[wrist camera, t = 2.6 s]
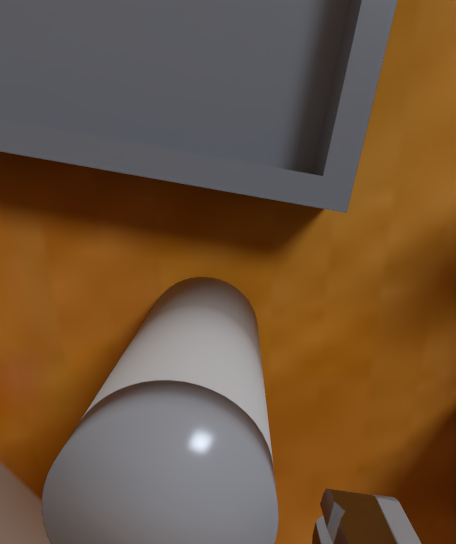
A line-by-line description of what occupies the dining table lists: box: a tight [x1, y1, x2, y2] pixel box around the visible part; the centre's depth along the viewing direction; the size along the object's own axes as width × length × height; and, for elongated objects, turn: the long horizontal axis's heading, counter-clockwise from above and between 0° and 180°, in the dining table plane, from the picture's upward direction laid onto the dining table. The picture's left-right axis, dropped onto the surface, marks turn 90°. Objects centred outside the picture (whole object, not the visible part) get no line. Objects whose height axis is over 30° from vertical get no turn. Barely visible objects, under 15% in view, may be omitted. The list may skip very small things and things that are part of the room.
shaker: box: [42, 277, 278, 544], centre depth 13 cm, size 5×5×10 cm
